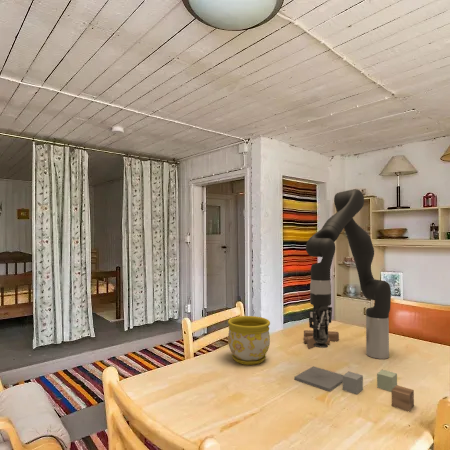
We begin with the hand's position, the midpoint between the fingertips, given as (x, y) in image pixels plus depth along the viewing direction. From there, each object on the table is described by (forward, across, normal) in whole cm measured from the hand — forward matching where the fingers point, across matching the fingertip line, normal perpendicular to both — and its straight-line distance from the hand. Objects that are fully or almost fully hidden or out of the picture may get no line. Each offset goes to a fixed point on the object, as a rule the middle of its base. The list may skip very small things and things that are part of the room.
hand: (320, 337), depth 128 cm
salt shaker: (+3, 0, 0) cm, 3 cm away
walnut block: (+16, 0, +28) cm, 32 cm away
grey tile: (+15, 0, 0) cm, 15 cm away
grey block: (+16, 0, +12) cm, 20 cm away
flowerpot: (+16, +3, -32) cm, 36 cm away
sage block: (+16, -10, +20) cm, 27 cm away
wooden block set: (+16, -38, -19) cm, 45 cm away
